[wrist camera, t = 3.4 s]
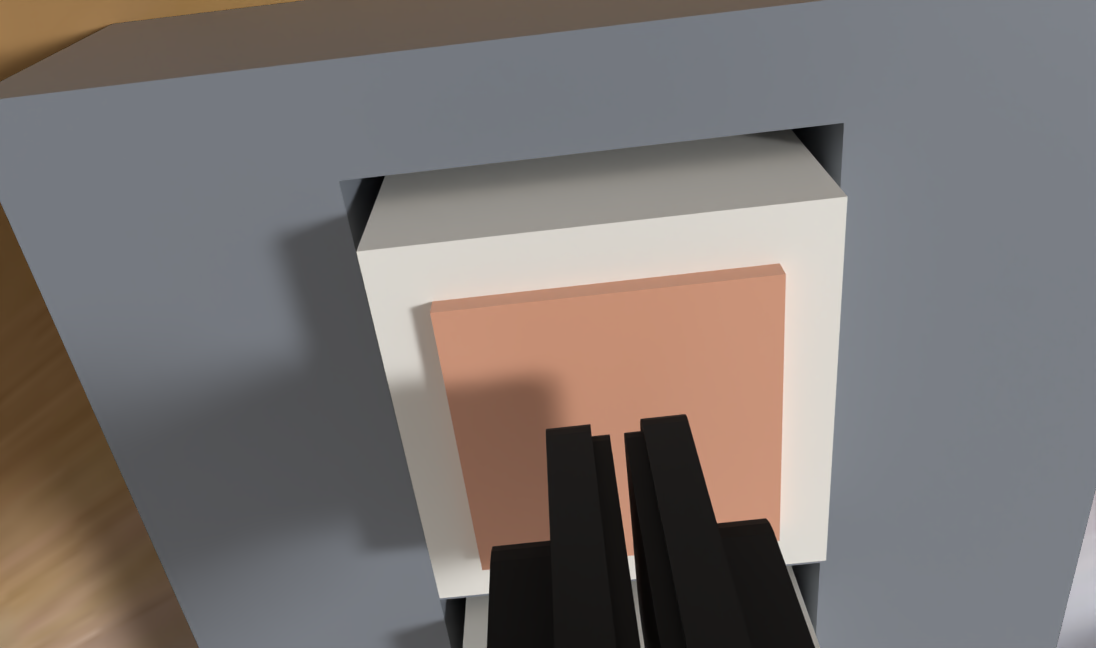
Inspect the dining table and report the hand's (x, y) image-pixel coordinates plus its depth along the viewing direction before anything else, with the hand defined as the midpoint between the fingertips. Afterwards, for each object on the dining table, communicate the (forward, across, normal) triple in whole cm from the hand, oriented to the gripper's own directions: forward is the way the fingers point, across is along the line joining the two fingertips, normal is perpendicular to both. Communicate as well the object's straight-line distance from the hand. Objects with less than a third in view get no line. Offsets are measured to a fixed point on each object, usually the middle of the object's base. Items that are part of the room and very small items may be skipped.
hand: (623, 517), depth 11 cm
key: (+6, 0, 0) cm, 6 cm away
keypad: (+8, 0, +8) cm, 11 cm away
